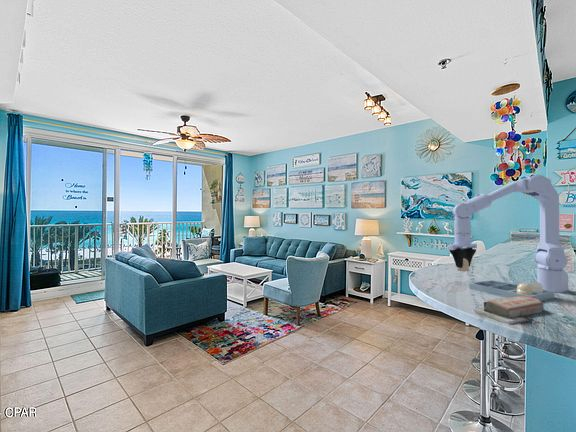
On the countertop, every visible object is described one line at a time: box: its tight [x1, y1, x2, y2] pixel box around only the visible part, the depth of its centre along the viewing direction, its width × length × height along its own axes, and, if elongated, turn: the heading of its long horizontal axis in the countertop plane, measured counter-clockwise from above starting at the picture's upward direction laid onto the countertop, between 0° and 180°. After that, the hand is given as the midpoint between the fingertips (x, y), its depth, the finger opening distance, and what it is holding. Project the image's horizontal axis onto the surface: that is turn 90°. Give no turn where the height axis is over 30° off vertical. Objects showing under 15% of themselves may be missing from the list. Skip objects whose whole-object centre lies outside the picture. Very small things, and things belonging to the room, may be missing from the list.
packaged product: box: [473, 296, 544, 325], centre depth 82 cm, size 18×5×10 cm
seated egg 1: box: [517, 282, 532, 296], centre depth 95 cm, size 4×4×5 cm
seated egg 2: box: [527, 281, 543, 293], centre depth 97 cm, size 4×4×5 cm
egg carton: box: [468, 279, 555, 302], centre depth 102 cm, size 14×20×3 cm
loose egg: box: [456, 258, 470, 272], centre depth 114 cm, size 4×4×5 cm
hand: (463, 266), depth 114 cm, fingers closed on loose egg, 4 cm apart
